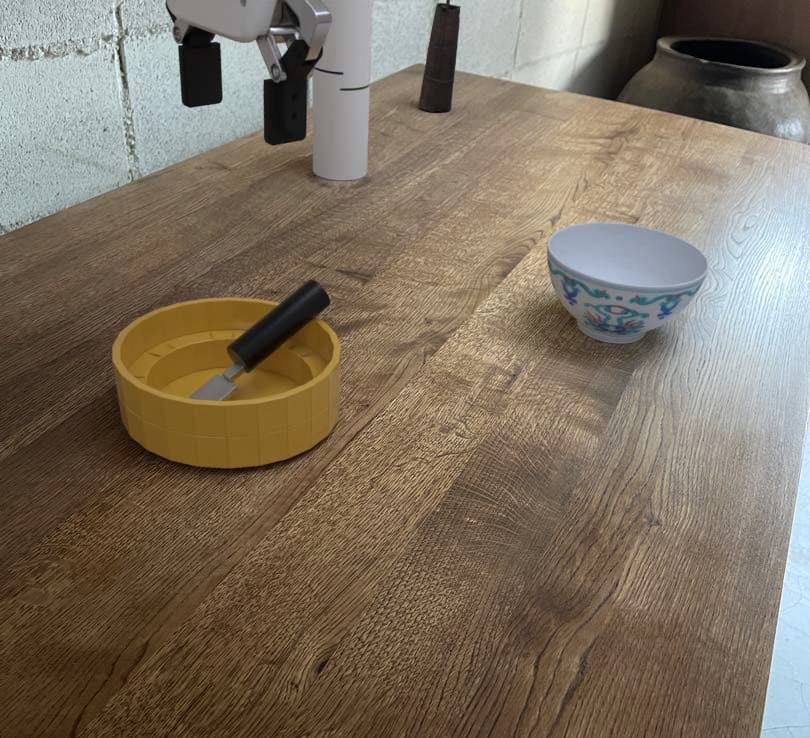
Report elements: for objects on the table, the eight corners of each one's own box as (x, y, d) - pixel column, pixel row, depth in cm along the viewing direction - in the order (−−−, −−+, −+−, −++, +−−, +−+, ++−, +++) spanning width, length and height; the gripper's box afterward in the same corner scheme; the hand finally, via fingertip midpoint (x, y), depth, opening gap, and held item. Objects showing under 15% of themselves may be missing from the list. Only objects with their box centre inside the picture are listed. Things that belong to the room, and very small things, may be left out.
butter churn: (444, 122, 142) (463, -97, 124) (393, 109, 146) (404, -105, 128) (474, 111, 148) (496, -100, 130) (424, 99, 152) (439, -108, 134)
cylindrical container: (319, 160, 124) (319, -59, 108) (371, 165, 124) (378, -53, 108) (307, 177, 119) (305, -51, 103) (361, 183, 118) (368, -45, 102)
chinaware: (577, 282, 98) (591, 210, 94) (710, 325, 92) (732, 251, 87) (507, 330, 89) (518, 253, 84) (650, 382, 83) (671, 302, 78)
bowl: (81, 403, 74) (69, 335, 70) (254, 342, 84) (251, 279, 80) (205, 503, 65) (198, 432, 61) (382, 422, 75) (386, 356, 71)
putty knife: (314, 299, 76) (304, 274, 74) (334, 310, 75) (325, 285, 73) (167, 420, 72) (152, 398, 70) (186, 435, 70) (172, 412, 68)
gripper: (100, -202, 56) (129, 98, 67) (273, -174, 47) (275, 167, 58) (203, -194, 61) (215, 86, 72) (380, -167, 52) (363, 149, 63)
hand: (242, 122), depth 65 cm, fingers open, 9 cm apart
